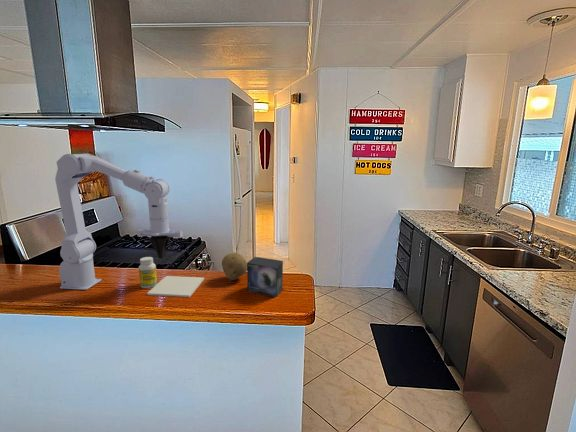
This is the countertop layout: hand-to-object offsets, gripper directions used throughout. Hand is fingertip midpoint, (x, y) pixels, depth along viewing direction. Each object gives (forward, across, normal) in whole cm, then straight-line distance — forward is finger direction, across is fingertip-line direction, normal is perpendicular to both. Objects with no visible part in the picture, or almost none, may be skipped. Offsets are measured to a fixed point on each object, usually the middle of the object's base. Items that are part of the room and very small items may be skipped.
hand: (161, 257), depth 107 cm
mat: (+10, +4, 0) cm, 11 cm away
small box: (+11, +34, +1) cm, 36 cm away
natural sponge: (+11, +22, +8) cm, 26 cm away
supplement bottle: (+11, -6, 0) cm, 12 cm away
